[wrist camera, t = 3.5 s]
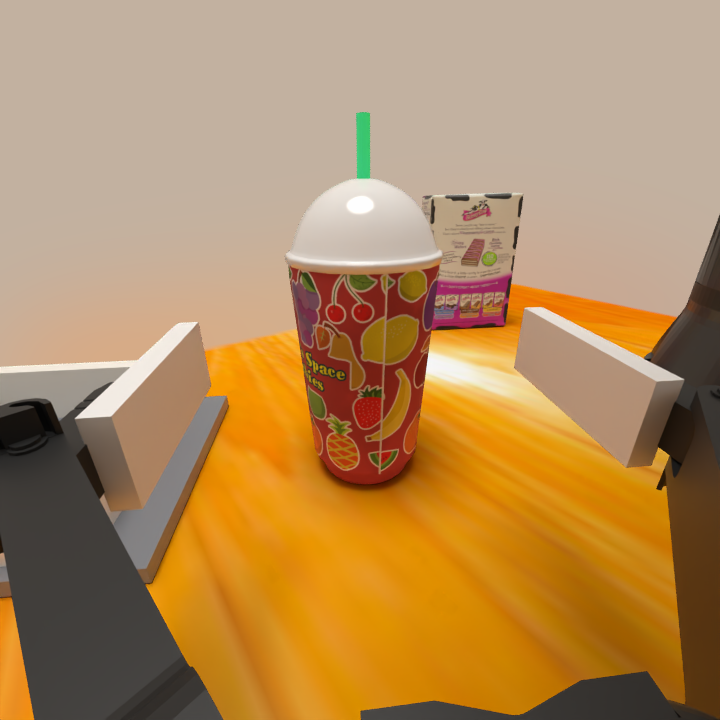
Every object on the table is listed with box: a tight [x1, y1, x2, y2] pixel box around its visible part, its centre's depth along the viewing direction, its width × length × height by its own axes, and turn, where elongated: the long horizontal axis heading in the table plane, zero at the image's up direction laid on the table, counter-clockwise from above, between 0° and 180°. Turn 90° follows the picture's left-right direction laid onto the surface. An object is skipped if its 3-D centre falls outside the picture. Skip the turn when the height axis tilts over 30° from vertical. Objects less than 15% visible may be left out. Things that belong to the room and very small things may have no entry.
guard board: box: [0, 360, 229, 597], centre depth 23 cm, size 20×16×5 cm
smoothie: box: [285, 112, 443, 485], centre depth 22 cm, size 8×8×20 cm
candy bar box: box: [422, 193, 523, 330], centre depth 48 cm, size 11×5×16 cm, turn 97°
